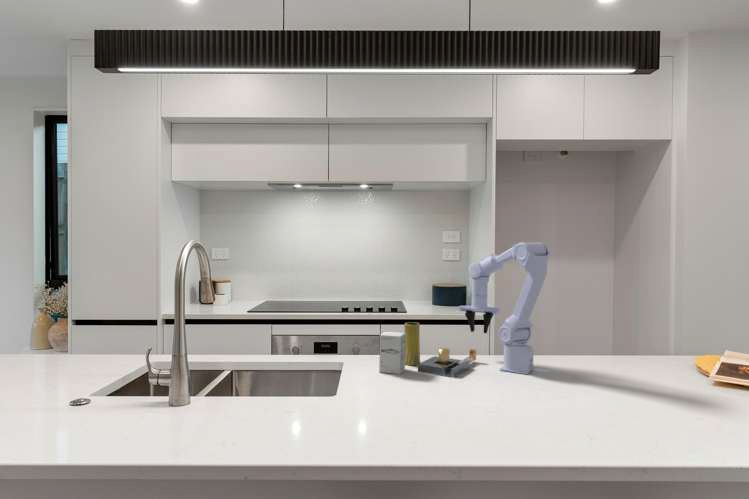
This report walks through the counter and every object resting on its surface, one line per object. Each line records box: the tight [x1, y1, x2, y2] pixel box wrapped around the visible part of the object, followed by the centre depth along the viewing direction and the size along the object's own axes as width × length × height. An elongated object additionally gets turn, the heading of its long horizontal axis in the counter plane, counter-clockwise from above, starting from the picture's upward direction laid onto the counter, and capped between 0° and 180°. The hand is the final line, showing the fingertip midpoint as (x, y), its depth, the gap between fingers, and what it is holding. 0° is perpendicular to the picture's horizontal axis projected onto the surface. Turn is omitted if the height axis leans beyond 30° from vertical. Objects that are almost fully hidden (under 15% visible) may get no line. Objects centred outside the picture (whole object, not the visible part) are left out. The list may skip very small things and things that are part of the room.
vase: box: [404, 321, 421, 367], centre depth 181 cm, size 6×6×14 cm
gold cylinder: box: [438, 347, 450, 365], centre depth 173 cm, size 4×4×7 cm
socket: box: [417, 355, 470, 378], centre depth 173 cm, size 13×13×2 cm
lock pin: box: [457, 348, 477, 366], centre depth 178 cm, size 2×14×4 cm, turn 148°
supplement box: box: [378, 331, 406, 375], centre depth 171 cm, size 7×7×13 cm
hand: (479, 332), depth 188 cm, fingers open, 4 cm apart
